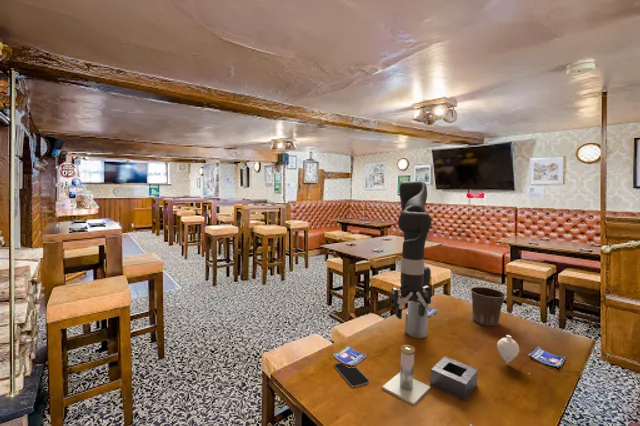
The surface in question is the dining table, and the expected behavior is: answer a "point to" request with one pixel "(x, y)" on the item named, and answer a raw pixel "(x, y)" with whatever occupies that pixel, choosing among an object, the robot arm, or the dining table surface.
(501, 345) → the spinning top
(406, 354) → the steel peg
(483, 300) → the plant pot
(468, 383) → the eye block
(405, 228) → the robot arm
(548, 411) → the dining table surface
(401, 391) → the cream pad
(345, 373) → the smartphone
